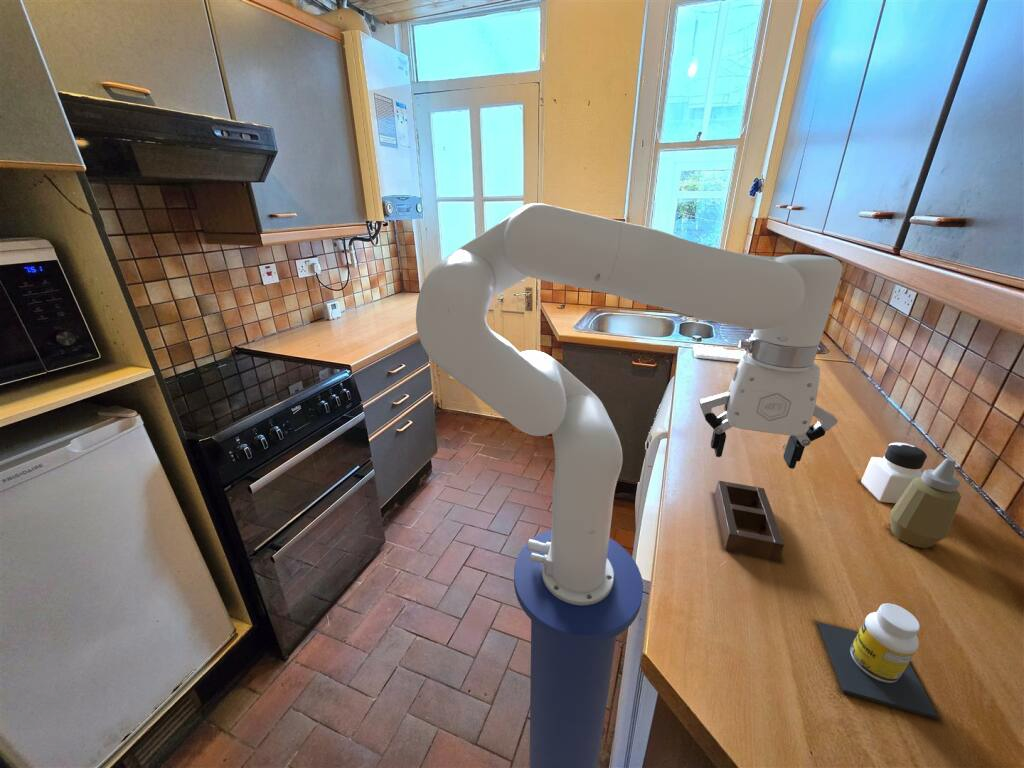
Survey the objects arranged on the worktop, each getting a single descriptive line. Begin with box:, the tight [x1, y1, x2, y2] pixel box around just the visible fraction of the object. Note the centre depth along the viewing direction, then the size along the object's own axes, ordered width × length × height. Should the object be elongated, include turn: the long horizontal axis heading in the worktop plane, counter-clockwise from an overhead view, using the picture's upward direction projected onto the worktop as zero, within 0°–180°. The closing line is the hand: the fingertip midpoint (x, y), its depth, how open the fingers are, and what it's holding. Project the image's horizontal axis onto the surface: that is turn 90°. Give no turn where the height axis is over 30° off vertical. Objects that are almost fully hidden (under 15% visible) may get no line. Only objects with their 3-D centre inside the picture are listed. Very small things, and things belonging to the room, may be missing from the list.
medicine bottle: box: [860, 442, 928, 504], centre depth 87 cm, size 7×7×12 cm
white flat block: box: [693, 344, 747, 363], centre depth 170 cm, size 13×20×2 cm, turn 69°
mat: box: [817, 622, 939, 720], centre depth 57 cm, size 10×10×1 cm
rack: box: [714, 480, 785, 562], centre depth 81 cm, size 9×16×4 cm, turn 162°
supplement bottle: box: [850, 602, 921, 683], centre depth 55 cm, size 5×5×10 cm
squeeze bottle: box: [889, 457, 962, 549], centre depth 75 cm, size 8×8×18 cm
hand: (751, 457), depth 61 cm, fingers open, 9 cm apart
